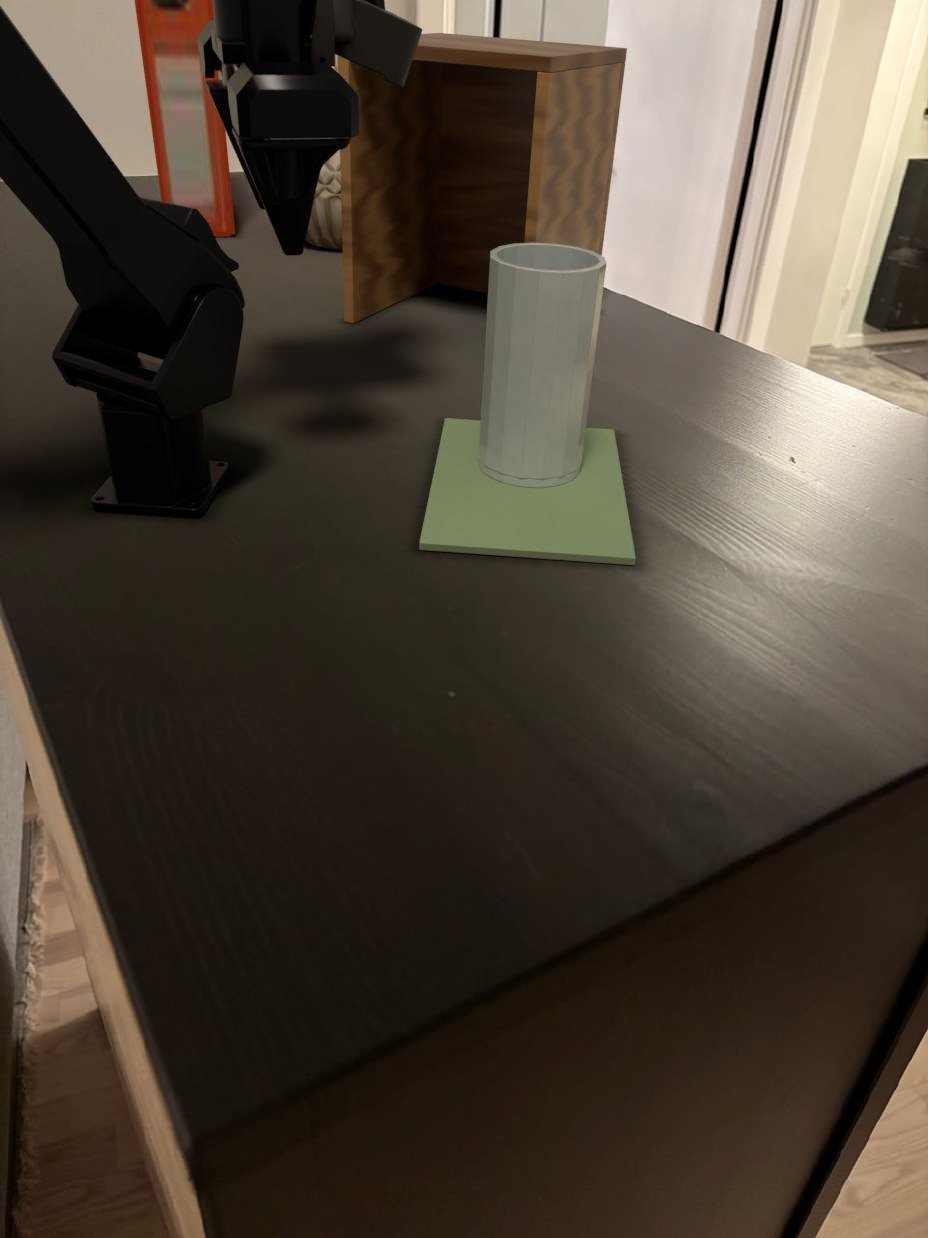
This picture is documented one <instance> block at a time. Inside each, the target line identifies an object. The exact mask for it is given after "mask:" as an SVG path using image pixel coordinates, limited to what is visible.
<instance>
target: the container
mask: <svg viewBox="0 0 928 1238" xmlns="http://www.w3.org/2000/svg"><path fill="white" fill-rule="evenodd" d="M606 270H607V261H606V258H605V256H604V255H602V256H601V255H599V254H597V253H596V252H594V251H590V250H587V249H583V248H579V247H575V246H568V245H561V244H552V243H515V244H509V245H504V246H499V247H497V248H495V249H493V250H491V251H490V263H489V280H488V293H487V299H486V317H485V332H484V333H485V334H484V350H483V366H482V367H483V369H482V386H481V400H480V401H481V402H480V434H479V455H478V465H479V467H480V469H481V470H482V471H483V472H484V473H485V474H486V475H488V476H489V477H491V478H493V479H495V480H497V481H500V482H503V483H506V484H510V485H514V486H520V487H530V488H542V487H552V486H558V485H561V484H564V483H567V482H569V481H571V480H573V479H574V478H575V477H576V476H577V475H578V473H579V471H580V465H581V463H582V455H583V447H584V439H585V431H586V428H587V423H588V414H589V406H590V399H591V391H592V390H591V389H592V382H593V374H594V368H595V367H594V366H595V358H596V350H597V343H598V334H599V326H600V318H601V311H602V303H603V296H604V295H603V294H604V285H605V279H606V272H607V271H606Z"/></svg>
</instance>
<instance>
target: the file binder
mask: <svg viewBox="0 0 928 1238" xmlns="http://www.w3.org/2000/svg"><path fill="white" fill-rule="evenodd" d="M134 7H135V15H136V22H137V29H138V36H139V37H138V38H139V44H140V45H139V46H140V51H141V52H140V53H141V58H142V60H141V61H142V66H143V73H144V82H145V88H146V96H147V103H148V111H149V118H150V126H151V133H152V142H153V149H154V155H155V162H156V163H155V164H156V171H157V179H158V185H159V193H160V201H162V202H167V203H171V204H176V205H181V206H185V207H190V208H195V209H197V210H198V211H199V212H200V213H201V214H202V216H203V217H204V218H205V219H206V221H207V222H208V223H209V225H210V227H211V229H212V232H213V234H214V236H215V238H216V237H219V238H220V237H232V235H236V225H235V217H234V216H235V215H234V205H233V195H232V184H231V175H230V174H231V173H230V164H229V151H228V143H227V133H226V130H225V128H224V126H223V123H222V121H221V119H220V117H219V114H218V112H217V110H216V107H215V105H214V103H213V101H212V98H211V96H210V94H209V92H208V90H207V87H206V85H205V81H207V80H219V76H218V70H215V78H205V77H204V75H203V74H202V72H201V70H200V60H199V51H198V41H197V37H198V35H199V34H200V33H201V32H202V30H203V29H204V28H205V27H206V25H207V24H208V23H209V21H210V20H214V12H213V1H212V0H134Z"/></svg>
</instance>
